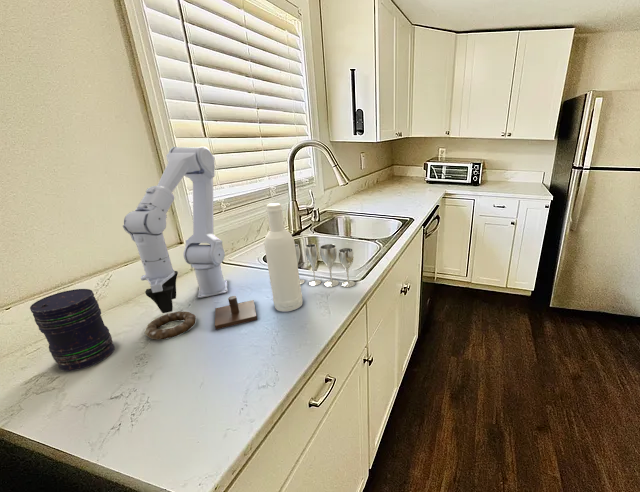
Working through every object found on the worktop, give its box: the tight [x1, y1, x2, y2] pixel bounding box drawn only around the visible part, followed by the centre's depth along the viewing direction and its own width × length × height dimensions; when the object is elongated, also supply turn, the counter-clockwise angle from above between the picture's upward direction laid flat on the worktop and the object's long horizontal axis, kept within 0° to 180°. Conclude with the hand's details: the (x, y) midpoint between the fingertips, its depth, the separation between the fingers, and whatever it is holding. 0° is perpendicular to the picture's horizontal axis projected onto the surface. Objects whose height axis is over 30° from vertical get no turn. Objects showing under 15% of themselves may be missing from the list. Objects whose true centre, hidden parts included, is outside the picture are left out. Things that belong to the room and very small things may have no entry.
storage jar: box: [29, 288, 116, 372], centre depth 72 cm, size 10×10×15 cm
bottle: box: [263, 202, 304, 313], centre depth 90 cm, size 8×8×30 cm
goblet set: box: [295, 243, 356, 288], centre depth 106 cm, size 28×6×13 cm, turn 84°
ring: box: [144, 310, 197, 340], centre depth 84 cm, size 11×11×2 cm
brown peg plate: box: [214, 295, 258, 331], centre depth 89 cm, size 10×10×6 cm
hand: (169, 305), depth 86 cm, fingers open, 7 cm apart
